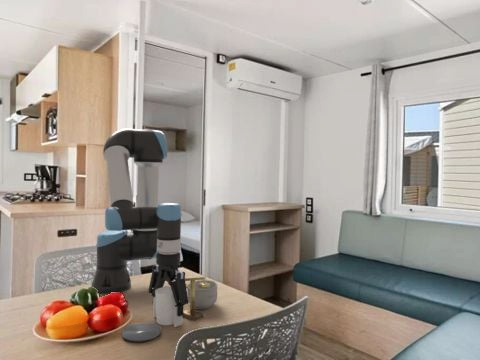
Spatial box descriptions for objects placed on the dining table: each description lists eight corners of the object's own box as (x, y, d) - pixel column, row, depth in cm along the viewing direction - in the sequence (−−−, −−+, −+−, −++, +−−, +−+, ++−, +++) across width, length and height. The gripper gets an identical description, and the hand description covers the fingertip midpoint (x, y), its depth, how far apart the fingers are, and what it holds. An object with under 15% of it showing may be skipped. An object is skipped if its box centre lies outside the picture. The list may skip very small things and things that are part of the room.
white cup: (168, 314, 122) (169, 284, 122) (184, 320, 117) (185, 290, 117) (149, 321, 116) (150, 290, 115) (165, 328, 111) (165, 296, 110)
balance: (173, 312, 124) (174, 270, 123) (182, 308, 127) (182, 268, 126) (203, 324, 114) (204, 279, 114) (211, 320, 117) (212, 276, 117)
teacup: (212, 313, 123) (212, 290, 123) (182, 310, 126) (182, 287, 125) (222, 299, 137) (222, 278, 137) (195, 296, 139) (195, 275, 139)
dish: (114, 334, 106) (114, 330, 106) (146, 323, 114) (146, 319, 114) (136, 347, 99) (136, 343, 99) (168, 334, 107) (168, 330, 107)
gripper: (137, 247, 120) (136, 314, 121) (182, 260, 106) (181, 335, 106) (156, 244, 126) (155, 307, 126) (201, 255, 111) (199, 327, 112)
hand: (167, 320), depth 116 cm, fingers open, 10 cm apart
